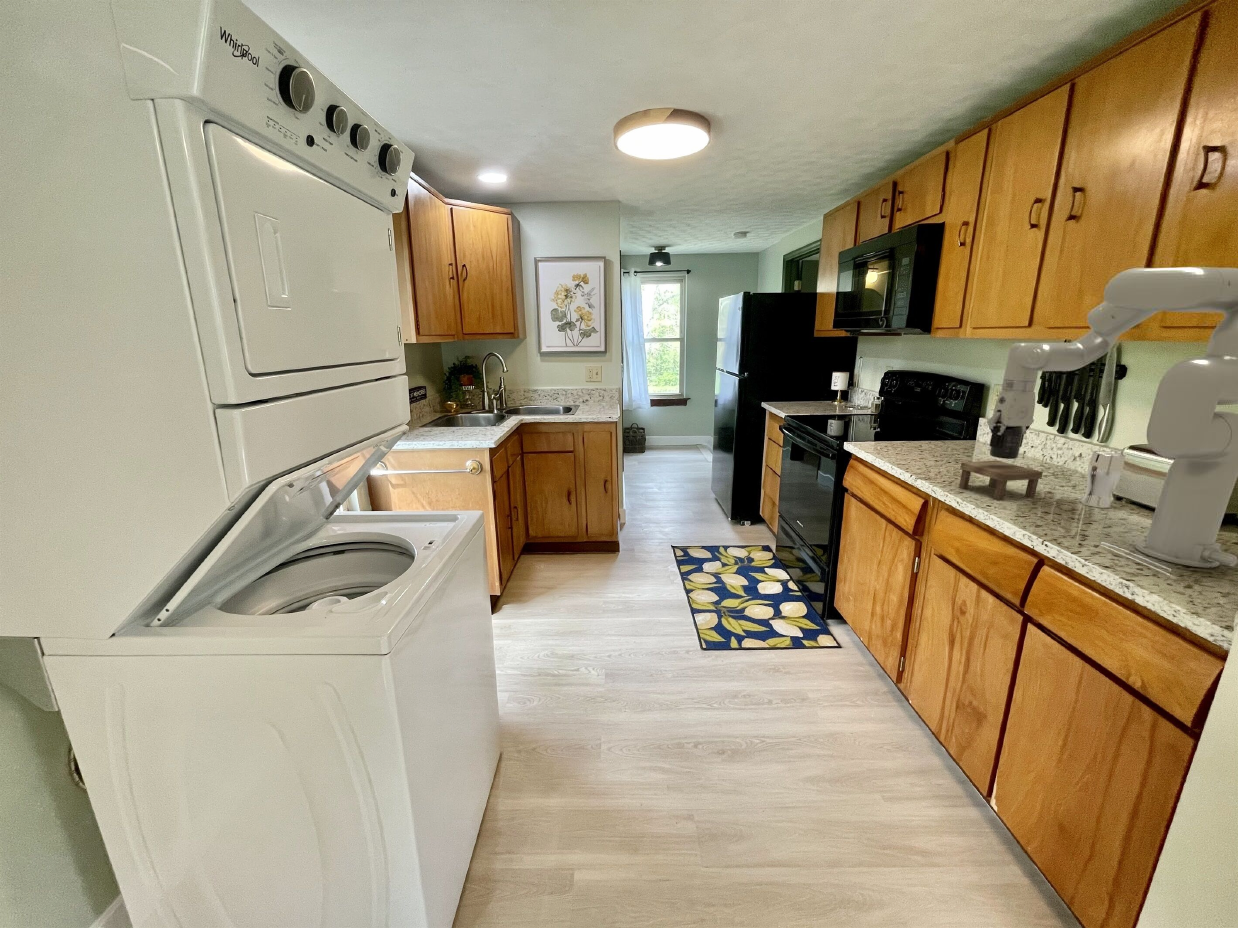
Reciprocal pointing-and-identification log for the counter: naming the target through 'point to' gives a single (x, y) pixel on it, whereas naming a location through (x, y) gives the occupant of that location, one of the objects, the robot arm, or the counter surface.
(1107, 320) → the robot arm
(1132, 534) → the counter surface
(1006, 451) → the supplement bottle
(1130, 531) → the counter surface
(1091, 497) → the beer glass
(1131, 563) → the counter surface
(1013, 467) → the walnut stool
